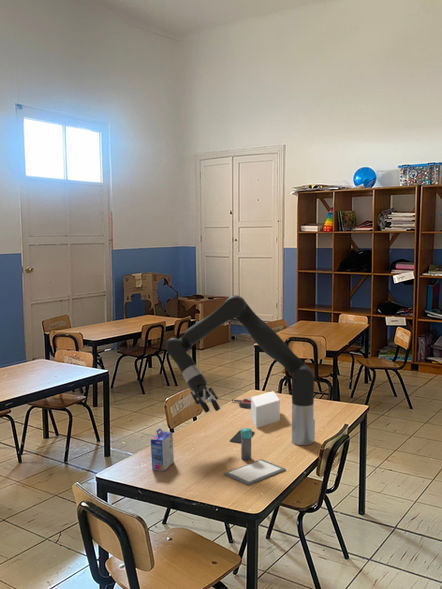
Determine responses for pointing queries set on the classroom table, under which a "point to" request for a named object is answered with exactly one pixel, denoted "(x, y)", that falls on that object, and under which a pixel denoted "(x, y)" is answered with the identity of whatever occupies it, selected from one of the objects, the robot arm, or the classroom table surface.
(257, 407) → the white box
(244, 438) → the marker
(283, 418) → the classroom table surface
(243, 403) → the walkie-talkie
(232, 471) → the mat
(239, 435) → the phone
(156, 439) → the ink cartridge box
